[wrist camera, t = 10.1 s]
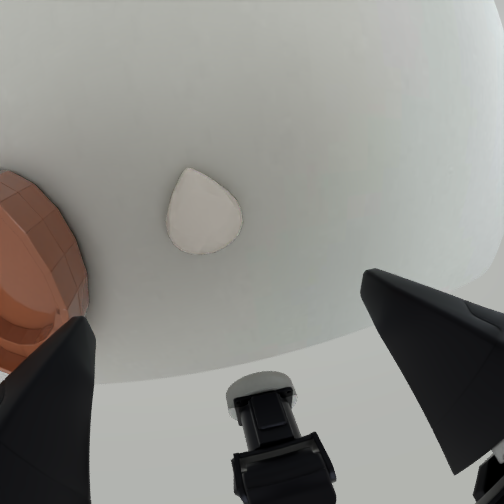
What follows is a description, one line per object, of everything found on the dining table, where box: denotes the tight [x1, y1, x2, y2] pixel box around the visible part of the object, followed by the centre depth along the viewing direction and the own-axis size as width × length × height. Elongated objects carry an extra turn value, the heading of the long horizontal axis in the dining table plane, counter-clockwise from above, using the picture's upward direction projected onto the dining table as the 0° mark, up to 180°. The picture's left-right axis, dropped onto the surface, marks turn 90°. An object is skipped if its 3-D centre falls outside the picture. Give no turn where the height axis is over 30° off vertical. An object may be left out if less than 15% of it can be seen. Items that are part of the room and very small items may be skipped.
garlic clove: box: [166, 168, 243, 255], centre depth 15 cm, size 4×5×2 cm
